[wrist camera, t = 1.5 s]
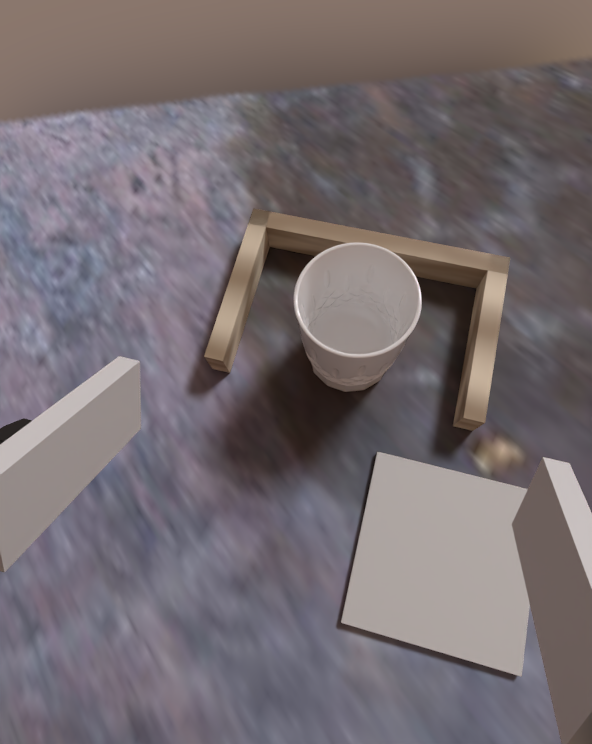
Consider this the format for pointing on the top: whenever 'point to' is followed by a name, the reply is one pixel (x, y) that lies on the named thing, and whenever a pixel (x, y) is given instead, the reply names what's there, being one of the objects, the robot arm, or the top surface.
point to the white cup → (355, 313)
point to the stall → (419, 256)
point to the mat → (440, 564)
